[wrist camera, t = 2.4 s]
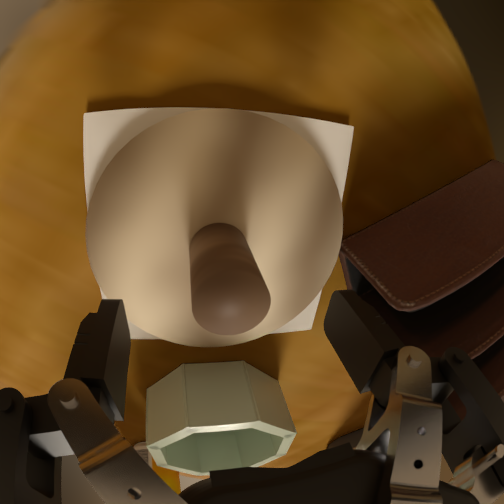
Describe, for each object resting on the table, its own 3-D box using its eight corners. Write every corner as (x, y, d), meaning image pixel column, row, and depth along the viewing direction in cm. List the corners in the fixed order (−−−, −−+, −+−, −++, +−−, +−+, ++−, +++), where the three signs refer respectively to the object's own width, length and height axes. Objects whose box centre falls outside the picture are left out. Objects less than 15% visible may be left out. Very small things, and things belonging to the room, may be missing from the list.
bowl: (284, 355, 23) (307, 411, 18) (266, 422, 29) (279, 465, 23) (139, 363, 20) (135, 426, 15) (160, 430, 26) (163, 476, 21)
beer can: (149, 459, 30) (158, 551, 17) (120, 443, 27) (123, 547, 14) (185, 452, 30) (201, 551, 17) (157, 436, 27) (168, 550, 14)
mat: (348, 125, 15) (354, 126, 15) (308, 324, 22) (311, 329, 21) (87, 113, 12) (83, 113, 11) (113, 332, 19) (112, 338, 18)
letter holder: (489, 239, 24) (574, 305, 12) (354, 329, 24) (435, 455, 12) (491, 157, 19) (604, 213, 7) (332, 240, 19) (475, 402, 7)
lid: (353, 126, 15) (424, 141, 10) (310, 329, 22) (342, 387, 16) (84, 113, 11) (26, 117, 6) (112, 338, 18) (100, 406, 13)
